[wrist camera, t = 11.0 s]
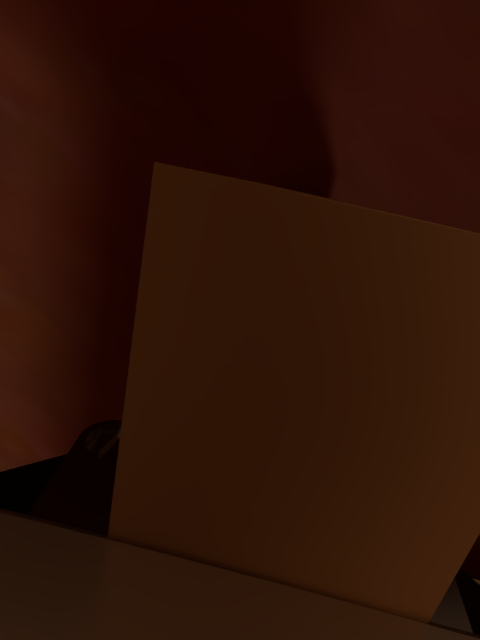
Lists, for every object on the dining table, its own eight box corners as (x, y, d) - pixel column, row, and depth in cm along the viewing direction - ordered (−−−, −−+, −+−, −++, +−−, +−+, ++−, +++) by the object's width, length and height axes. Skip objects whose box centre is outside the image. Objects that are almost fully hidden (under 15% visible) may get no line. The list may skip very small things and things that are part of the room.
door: (365, 206, 14) (749, 294, 2) (265, 526, 19) (233, 1035, 8) (243, 179, 14) (48, 137, 2) (178, 504, 19) (19, 967, 8)
